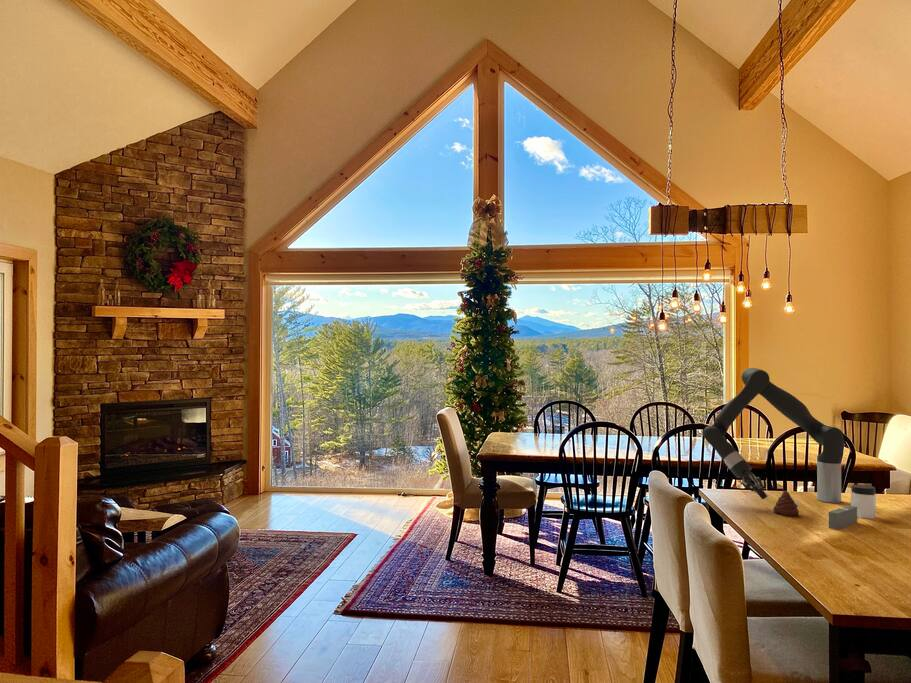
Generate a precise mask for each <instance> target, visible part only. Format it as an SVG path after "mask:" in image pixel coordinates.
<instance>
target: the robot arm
mask: <svg viewBox="0 0 911 683" xmlns="http://www.w3.org/2000/svg"><path fill="white" fill-rule="evenodd" d="M741 380H742V382H743V384H744V387H742V389H741V391H740V392H739V393H737V395H736V396H734V397H733V398H732V399H730V401H728V402H727V403H726V404H725V405H724V406H723V407H722V409H721V410H720V411H719V412H718V414H717V415H716V416H715V421H714V423H713V424H712V425H707V426H705V428H704V429H703V431H702V435H703V438H704V439H705V440H706V441H707V443H708V444H709V445H710V446H711V447H712V448H713V449H714V450H715V451H716V453H717V454H718V456H719V457H720V458H721V459H722V461H723V462H724V463H725V465H726V467H728V468H729V470H730V471H731V473H732V474H733V475H734V476H735V477H736V478H737V479H739V478H740V479H741V482H740V483H741V485H742V486H743V487H745V488H746V489H748V490H749V491H751V492H754V493H756V494H757V495H758V496H759V498H760V499H761V500H766V499H767V497H768V494H767V493H766V492H765V491H764V490H763V487H764V485H763V482H762V479H761V476H756V475H755V474H754V473H753V472H752V467H751V465H750V464H749V463H748V462H747V461H746V459H745V458H744V457H743V456H742V454H740V453H739V452H738V451H737V450H736V448H735V447H734V446H733V445H732V444H731V443H730V441H728V440H727V439H726V437H725V436H726V434H727V432H728V430H729V428H730V427H731V425H733V423H734V422H735V420H736V419H737V418H738V417H739V415H740V414H741V413H742V412H743V411H744V409H745V408H746V407H747V406H748V405H749V404H750V403H752V401H753V400H754V399H755V398H756V397H757V396H759V395H760V396H761V397H763V398H764V399H765V400H766V401H767V402H768V403H769V404H770V405H772V406H773V408H775V409H776V410H777V411H778V412H779V413H780V414H781V415H783V416H784V417H786V418H787V419H788V420H790V422H791V421H792V423H793V424H795V425H797V426H798V427H800V429H802V430H803V431H804V432H806V433H807V435H809V436H810V437H811V439H813V441H814V442H816V443H817V444H818V445H821V446H822V452H821V453H819V454H817V458H816V459H817V462H816V466H817V467H816V468H817V469H816V475H817V476H816V477H817V479H816V480H817V481H816V482H817V483H816V489H817V492H816V498H817V500H818V501H820V502H825V503H832V504H833V503H834V504H835V503H836V504H837V503H841V502H842V459H843V457H844V451H845V450H844V448H845V438H844V434H843V431H842V430H841V429H840V428H838V427H835V426H830V425H826V424H824V423H823V422H820V420H818V419H817V418H815V417H814V416H813V415H812V414H811V412H810V411H809V408H808V407H807V406H806V405H805V404H804V402H803V401H800V399H798V398H797V397H796V396H794V395H792V394H791V393H789V391H786V390H784V388H783V389H782V388H780V387H779V386H777V385H775V384H774V383H773V382H771V381H770V375H769V373H768V372H767V371H766V370H763V369H759V368H755V367H750V368H746V369H745V370H743V372H742V374H741Z"/></svg>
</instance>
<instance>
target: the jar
mask: <svg viewBox="0 0 911 683" xmlns="http://www.w3.org/2000/svg"><path fill="white" fill-rule="evenodd" d="M850 488H851V491H850V506H855V507H857V518H860V519H869V520H874V519H875V518H876V516H877V514H876V513H877V511H876V510H877V506H876V505H877V496H876V495H877V494H876V487H875V486H872V485H867V484H852V485H851V487H850Z"/></svg>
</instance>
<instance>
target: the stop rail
mask: <svg viewBox="0 0 911 683" xmlns="http://www.w3.org/2000/svg"><path fill="white" fill-rule="evenodd" d="M857 523H858V517H857V507H855V506H851V505H846V506H843V507H838V508H836V509H834V510H830V511H828V528H829V529H833V530H836V531H838V530H840V529H843V528H846V527H848V526H852V525H855V524H857Z"/></svg>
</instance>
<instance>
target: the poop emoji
mask: <svg viewBox="0 0 911 683" xmlns="http://www.w3.org/2000/svg"><path fill="white" fill-rule="evenodd" d="M799 504H800V503H799V502H797V501H795V500H793V497H792V496H791V494H790V493H789V492H788V491H787V490H783V491H782V494H781V496H779V497H778V500H777V502H775V505H774V506H773V509H772V510H773V512H774V513H775V514H780V515H782V516H784V517H789V518H790V517H798V516H799V514H800V510H799V509H798V507H799Z"/></svg>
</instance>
